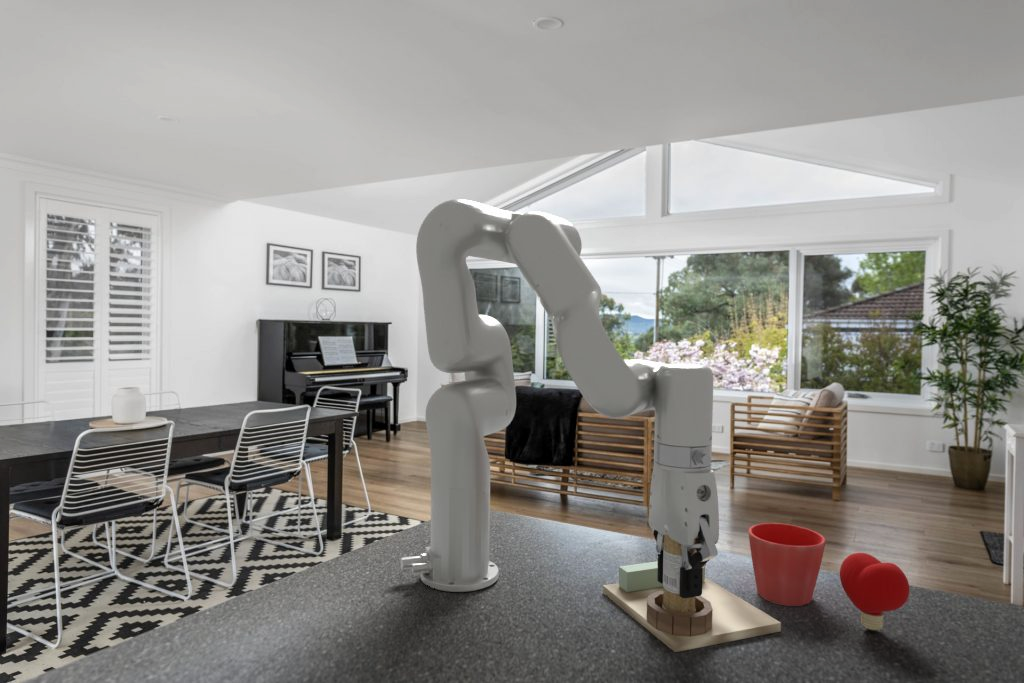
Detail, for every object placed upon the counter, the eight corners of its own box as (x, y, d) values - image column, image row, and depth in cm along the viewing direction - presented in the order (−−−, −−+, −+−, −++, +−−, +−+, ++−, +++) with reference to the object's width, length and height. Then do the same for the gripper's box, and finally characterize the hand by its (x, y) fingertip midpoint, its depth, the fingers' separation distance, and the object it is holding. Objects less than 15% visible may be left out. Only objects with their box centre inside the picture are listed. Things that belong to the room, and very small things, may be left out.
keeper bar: (626, 592, 100) (627, 567, 100) (618, 585, 102) (619, 561, 102) (704, 580, 105) (705, 556, 105) (695, 574, 107) (696, 550, 107)
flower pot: (832, 614, 96) (834, 548, 96) (752, 607, 99) (754, 542, 98) (814, 585, 107) (816, 525, 106) (742, 579, 109) (743, 520, 109)
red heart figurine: (824, 620, 95) (827, 550, 94) (860, 612, 97) (862, 544, 97) (884, 651, 86) (887, 575, 86) (921, 641, 89) (924, 567, 88)
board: (673, 652, 85) (674, 624, 85) (601, 593, 103) (601, 569, 103) (780, 631, 91) (781, 604, 91) (695, 578, 109) (696, 556, 109)
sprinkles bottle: (702, 616, 90) (704, 517, 89) (671, 620, 88) (674, 519, 88) (684, 602, 94) (686, 507, 93) (655, 606, 93) (657, 510, 92)
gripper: (747, 467, 84) (743, 610, 84) (670, 442, 99) (667, 563, 100) (697, 471, 81) (693, 619, 82) (625, 445, 97) (623, 569, 98)
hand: (679, 587), depth 91 cm, fingers closed on sprinkles bottle, 4 cm apart
